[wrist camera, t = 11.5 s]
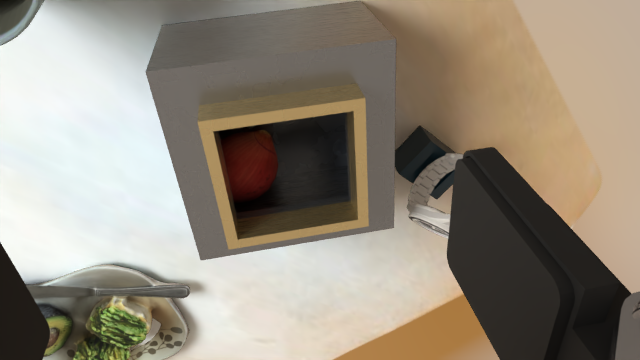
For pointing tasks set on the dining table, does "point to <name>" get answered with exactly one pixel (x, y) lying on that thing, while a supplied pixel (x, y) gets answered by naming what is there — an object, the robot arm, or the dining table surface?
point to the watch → (427, 177)
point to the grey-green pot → (16, 17)
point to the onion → (250, 163)
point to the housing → (281, 122)
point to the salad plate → (110, 315)
